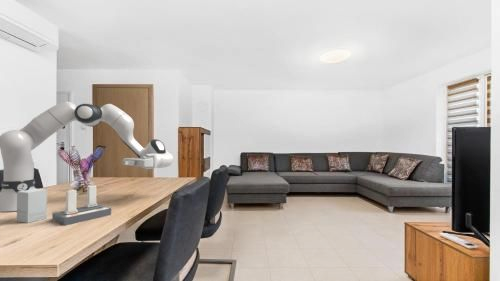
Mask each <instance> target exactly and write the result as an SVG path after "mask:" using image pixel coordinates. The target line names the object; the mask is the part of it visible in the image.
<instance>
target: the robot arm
mask: <svg viewBox="0 0 500 281" xmlns="http://www.w3.org/2000/svg"><path fill="white" fill-rule="evenodd" d="M74 121H75V122H76V121H77V122H79V123H81V124H82V125H84V126H86V127H96V126H98V125H100V124H101V122H104V123H106V124H107V125H108V126H110V127H111V128H112V129H114V130H115V131H116V133H117V134H118V136H119V139H120V140H121V141H122V142H123V143H124V145H126V146H127V147H128V149H130V150H131V152H132V153H134V154H135V155H136V157H125V158H123V159H122V161H121V164H122V165H123V166H132V167H133V166H134V167H140V168H142V169H143V170H151V169H152V170H153V169H161V168H167V167H170V166H172V164H173V162H174V156H173V154H172V153H170V152H169V151H168V150H167V148H166V146H165V144H164V142H162V140H160V139H151V140H150V141H149V142H148V143H147V144H146V146H145V147H143V146H142V145H141V144H140V143H139V142H138V141H137V140H136V139H135V137H134V129H135V122H134V120H133V118H132V117H131V116H130V115H129V114H127V113H126V112H125V111H123V109H121V108H119V107H118V106H116V105H114V104H112V103H107V104H104V105H102V106H99V105H96V104H91V103H81V104H79V105H76V104H74V103H73V102H71V101H66V100H65V101H62V102H60V103H57V104H56V105H53V106H51V107H50V108H48V109H46V110H45V111H43V112H42V113H40V114H39V115H36V116H35V117H33V118H32V119H31V120H30V121H29V122H28V123H27V124H26V125H25V126H23V127H22V128H21V129H19V130H18V129H17V130H14V129H13V130H9V131H6V132H4V133H2V134H0V153H1V158H2V163H3V164H2V165H3V180H2V181H1V190H0V212H3V213H4V212H5V213H6V212H17V192H19V191H25V190H31V189H38V188H36V187H35V184H36V179H35V178H34V176H35V163H34V161H33V160H34V159H33V156H32V155H33V154H32V151H33V150H34V149H36V148H37V147H39V145H41V144H42V143H44V142H45V141H46V140H47V139H48V138H50V137H51V136H52V135H54V134H55V133H56V132H58V131H60V130H62V129H63V128H64V127H66V126H67V125H68V124H71V123H72V122H74Z"/></svg>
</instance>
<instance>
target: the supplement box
mask: <svg viewBox="0 0 500 281" xmlns="http://www.w3.org/2000/svg"><path fill="white" fill-rule="evenodd" d="M47 204H48V189H43V188H42V189H40V188H37V189H31V190H25V191H19V192H17V211H16V222H18V223H19V222H20V223H26V224H28V223H29V224H30V223H33V222H37V221H40V220H43V219H44V220H45V219H47V216H48V215H47V213H48V209H47V207H48V205H47Z"/></svg>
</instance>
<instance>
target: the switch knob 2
mask: <svg viewBox="0 0 500 281" xmlns="http://www.w3.org/2000/svg"><path fill="white" fill-rule="evenodd" d="M97 189H98V188H97V185H95V184H94V185H87V188H86V204H85V206H86V207H93V206H97V204H98V203H97Z"/></svg>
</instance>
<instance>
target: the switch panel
mask: <svg viewBox="0 0 500 281" xmlns="http://www.w3.org/2000/svg"><path fill="white" fill-rule="evenodd" d="M76 210H78V212H77V213H72V214H64V211H66V209H65V210H59V211H55V212H52V218H51V219H52V220H53V221H54V222H56V223H58V224H60V225H62V226H69V225H73V224H77V223H81V222H86V221H91V220H94V219H95V220H96V219H99V218H104V217H108V216H111V215H112V207H108V206H104V205H101V204H98V203H97V206H93V207H86V205H85V206H80V207H76ZM52 220H51V221H52Z"/></svg>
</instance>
